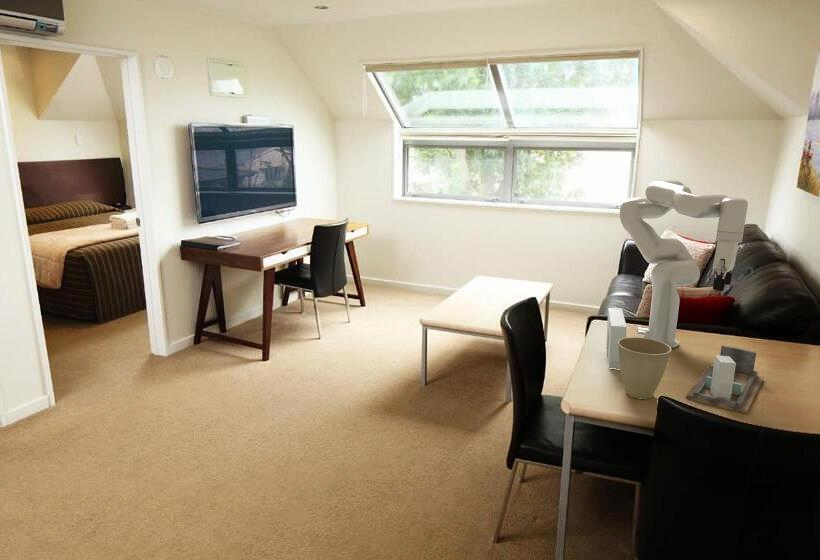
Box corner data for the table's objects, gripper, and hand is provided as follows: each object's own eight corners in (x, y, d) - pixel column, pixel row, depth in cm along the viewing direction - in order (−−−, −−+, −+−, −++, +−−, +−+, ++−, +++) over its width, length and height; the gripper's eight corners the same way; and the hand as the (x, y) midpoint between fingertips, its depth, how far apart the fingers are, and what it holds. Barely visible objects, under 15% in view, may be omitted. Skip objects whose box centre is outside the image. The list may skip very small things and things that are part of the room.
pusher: (705, 387, 177) (707, 377, 176) (706, 386, 178) (707, 375, 177) (739, 395, 172) (741, 385, 171) (740, 394, 172) (742, 384, 172)
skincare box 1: (604, 348, 214) (608, 307, 210) (619, 349, 212) (623, 308, 209) (607, 369, 194) (611, 324, 190) (624, 371, 193) (628, 326, 189)
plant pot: (671, 407, 167) (677, 356, 163) (617, 403, 170) (622, 352, 166) (658, 385, 181) (664, 338, 178) (609, 382, 184) (614, 335, 180)
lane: (686, 398, 173) (689, 370, 171) (708, 367, 196) (712, 342, 193) (746, 414, 163) (751, 384, 161) (763, 380, 186) (767, 354, 184)
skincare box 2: (730, 401, 169) (736, 363, 166) (715, 400, 170) (720, 362, 167) (724, 392, 174) (730, 355, 171) (709, 391, 175) (714, 354, 172)
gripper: (722, 231, 195) (715, 280, 200) (710, 238, 182) (702, 290, 187) (747, 234, 191) (739, 283, 195) (736, 241, 178) (728, 294, 182)
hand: (721, 287), depth 191 cm, fingers open, 9 cm apart
